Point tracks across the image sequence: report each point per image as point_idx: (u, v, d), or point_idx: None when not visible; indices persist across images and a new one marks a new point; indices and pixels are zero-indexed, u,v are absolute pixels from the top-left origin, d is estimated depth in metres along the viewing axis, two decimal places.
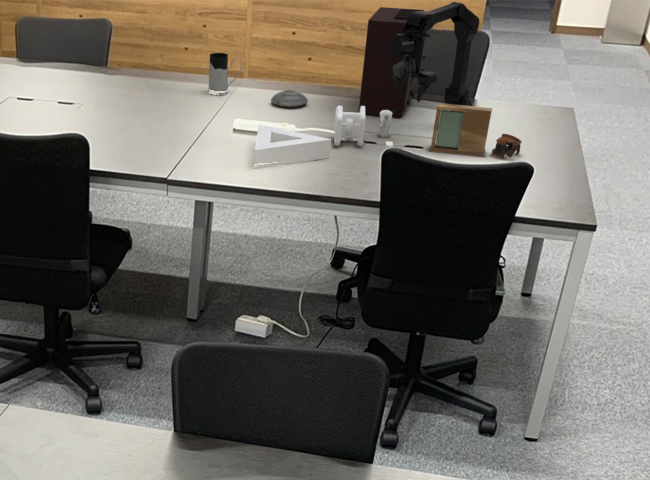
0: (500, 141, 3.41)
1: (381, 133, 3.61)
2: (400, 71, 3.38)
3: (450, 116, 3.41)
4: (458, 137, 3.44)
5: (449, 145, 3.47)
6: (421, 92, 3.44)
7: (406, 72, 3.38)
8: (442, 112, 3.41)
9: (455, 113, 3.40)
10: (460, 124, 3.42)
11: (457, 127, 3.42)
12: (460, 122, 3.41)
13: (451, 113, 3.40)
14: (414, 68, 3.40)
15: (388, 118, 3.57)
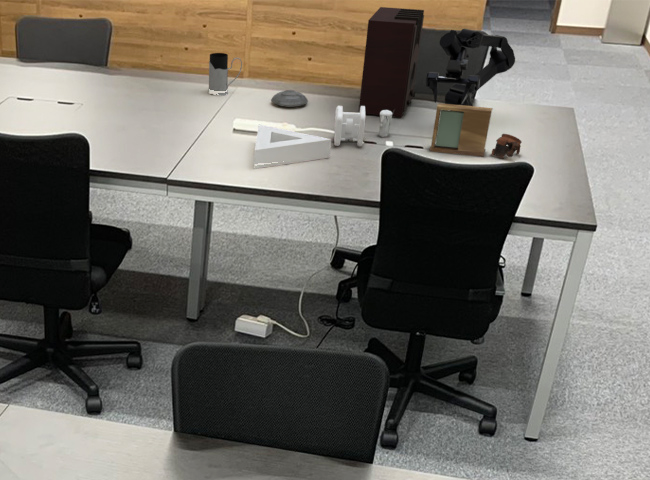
0: (500, 141, 3.41)
1: (381, 133, 3.61)
2: (459, 62, 3.45)
3: (450, 116, 3.41)
4: (458, 137, 3.44)
5: (449, 145, 3.47)
6: (466, 94, 3.50)
7: (465, 64, 3.45)
8: (442, 112, 3.41)
9: (455, 113, 3.40)
10: (460, 124, 3.42)
11: (457, 127, 3.42)
12: (460, 122, 3.41)
13: (451, 113, 3.40)
14: (462, 70, 3.50)
15: (388, 118, 3.57)
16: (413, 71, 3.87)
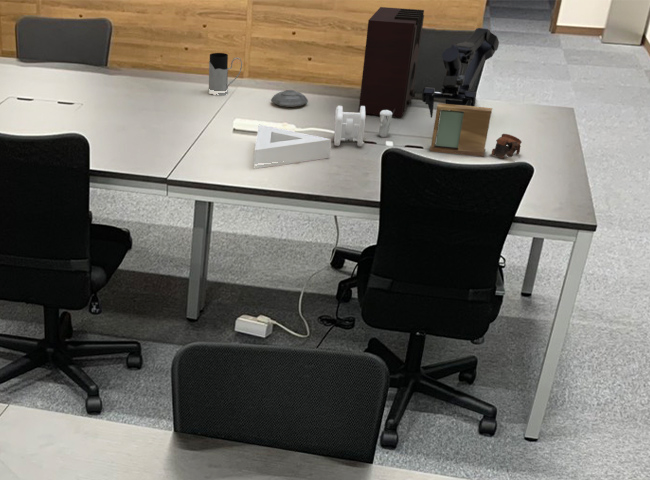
0: (500, 141, 3.41)
1: (381, 133, 3.61)
2: (456, 78, 3.42)
3: (450, 116, 3.41)
4: (458, 137, 3.44)
5: (449, 145, 3.47)
6: None
7: (461, 80, 3.43)
8: (442, 112, 3.41)
9: (455, 113, 3.40)
10: (460, 124, 3.42)
11: (457, 127, 3.42)
12: (460, 122, 3.41)
13: (451, 113, 3.40)
14: (459, 86, 3.48)
15: (388, 118, 3.57)
16: (413, 71, 3.87)
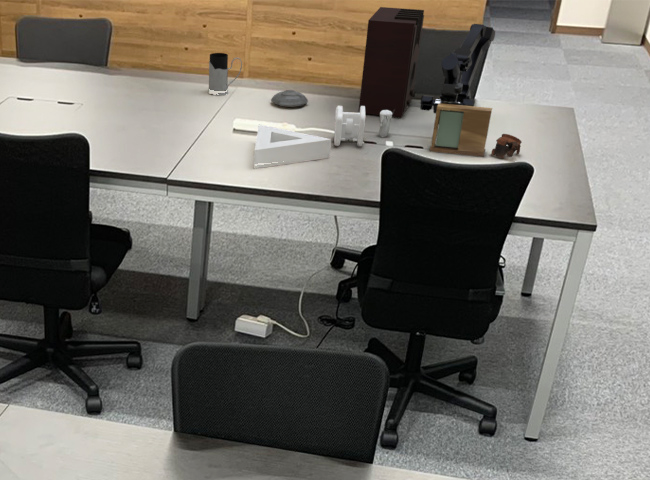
0: (500, 141, 3.41)
1: (381, 133, 3.61)
2: (454, 86, 3.41)
3: (450, 116, 3.41)
4: (458, 137, 3.44)
5: (449, 145, 3.47)
6: None
7: (460, 88, 3.42)
8: (442, 112, 3.41)
9: (455, 113, 3.40)
10: (460, 124, 3.42)
11: (457, 127, 3.42)
12: (461, 122, 3.41)
13: (451, 113, 3.40)
14: (457, 94, 3.47)
15: (388, 118, 3.57)
16: (413, 71, 3.87)
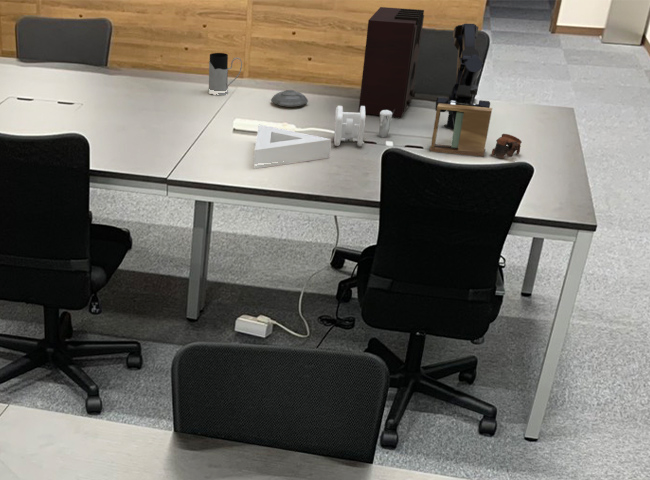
0: (500, 141, 3.41)
1: (381, 133, 3.61)
2: (470, 87, 3.40)
3: None
4: None
5: None
6: None
7: (475, 89, 3.40)
8: (458, 113, 3.40)
9: None
10: None
11: None
12: None
13: None
14: (472, 96, 3.45)
15: (388, 118, 3.57)
16: (413, 71, 3.87)
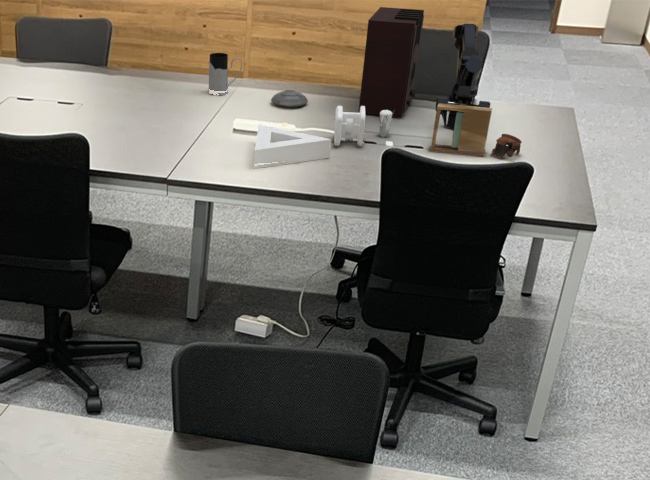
0: (500, 141, 3.41)
1: (381, 133, 3.61)
2: (470, 88, 3.40)
3: None
4: None
5: None
6: None
7: (475, 90, 3.40)
8: (458, 113, 3.40)
9: None
10: None
11: None
12: None
13: None
14: (472, 96, 3.45)
15: (388, 118, 3.57)
16: (413, 71, 3.87)
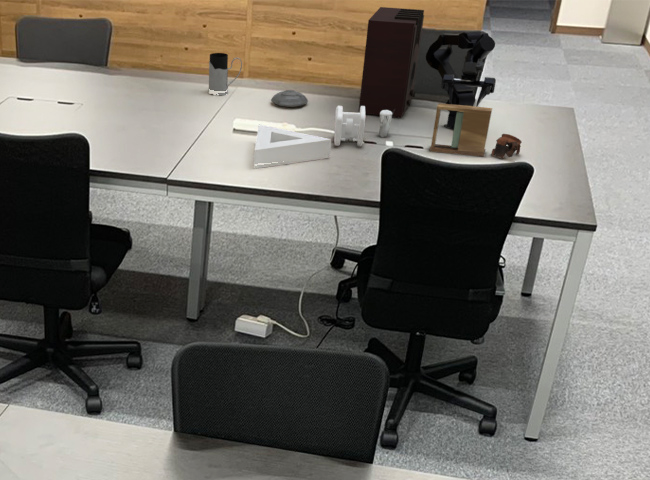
0: (500, 141, 3.41)
1: (381, 133, 3.61)
2: (475, 64, 3.43)
3: None
4: None
5: None
6: (482, 96, 3.49)
7: (481, 66, 3.44)
8: (458, 113, 3.40)
9: None
10: None
11: None
12: None
13: None
14: (478, 73, 3.49)
15: (388, 118, 3.57)
16: (413, 71, 3.87)
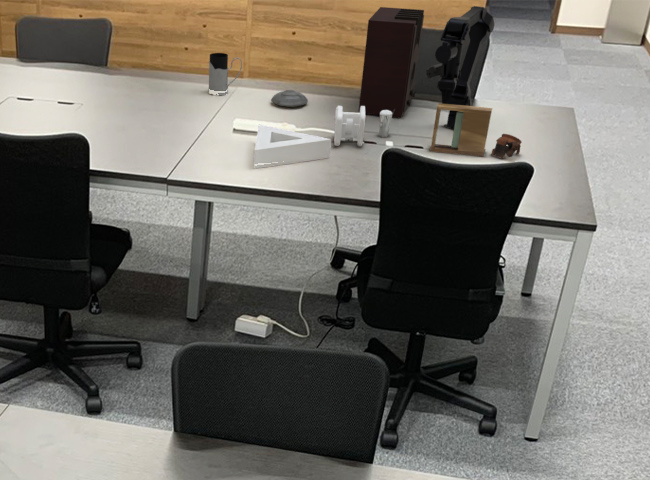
0: (500, 141, 3.41)
1: (381, 133, 3.61)
2: (426, 71, 3.49)
3: None
4: None
5: None
6: (443, 97, 3.49)
7: (428, 73, 3.48)
8: (458, 113, 3.40)
9: None
10: None
11: None
12: None
13: None
14: (442, 72, 3.47)
15: (388, 118, 3.57)
16: (413, 71, 3.87)
